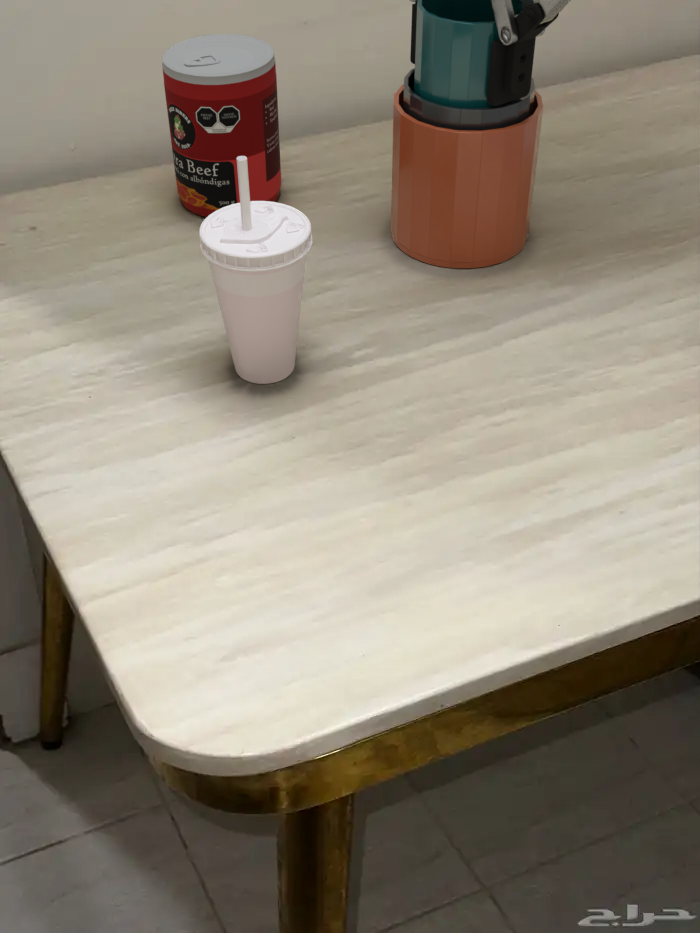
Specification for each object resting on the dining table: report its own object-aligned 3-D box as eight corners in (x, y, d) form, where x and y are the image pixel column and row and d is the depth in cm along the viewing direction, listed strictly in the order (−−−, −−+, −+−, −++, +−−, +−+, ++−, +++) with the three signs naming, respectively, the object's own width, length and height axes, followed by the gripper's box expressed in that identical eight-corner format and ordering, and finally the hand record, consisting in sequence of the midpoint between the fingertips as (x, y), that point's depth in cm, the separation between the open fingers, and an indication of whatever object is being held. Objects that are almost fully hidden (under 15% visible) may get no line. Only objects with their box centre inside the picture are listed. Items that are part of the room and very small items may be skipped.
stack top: (493, 197, 84) (506, 51, 77) (536, 253, 78) (555, 101, 71) (385, 212, 83) (387, 64, 75) (421, 271, 77) (427, 117, 69)
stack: (498, 192, 85) (509, 63, 78) (548, 257, 78) (566, 121, 71) (374, 209, 83) (375, 79, 76) (415, 277, 76) (420, 141, 69)
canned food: (158, 195, 85) (139, 52, 78) (241, 162, 89) (230, 24, 82) (218, 232, 81) (204, 85, 73) (302, 197, 85) (297, 54, 77)
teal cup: (493, 104, 79) (504, -21, 73) (532, 147, 73) (546, 17, 68) (399, 115, 77) (403, -11, 71) (432, 160, 72) (438, 28, 66)
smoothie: (193, 362, 69) (166, 152, 60) (275, 324, 72) (262, 118, 63) (254, 411, 65) (236, 196, 56) (337, 369, 68) (334, 158, 59)
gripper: (655, -218, 57) (603, 111, 69) (443, -265, 68) (430, 27, 80) (548, -199, 54) (513, 142, 66) (344, -251, 65) (345, 51, 77)
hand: (468, 77), depth 73 cm, fingers closed on teal cup, 7 cm apart
